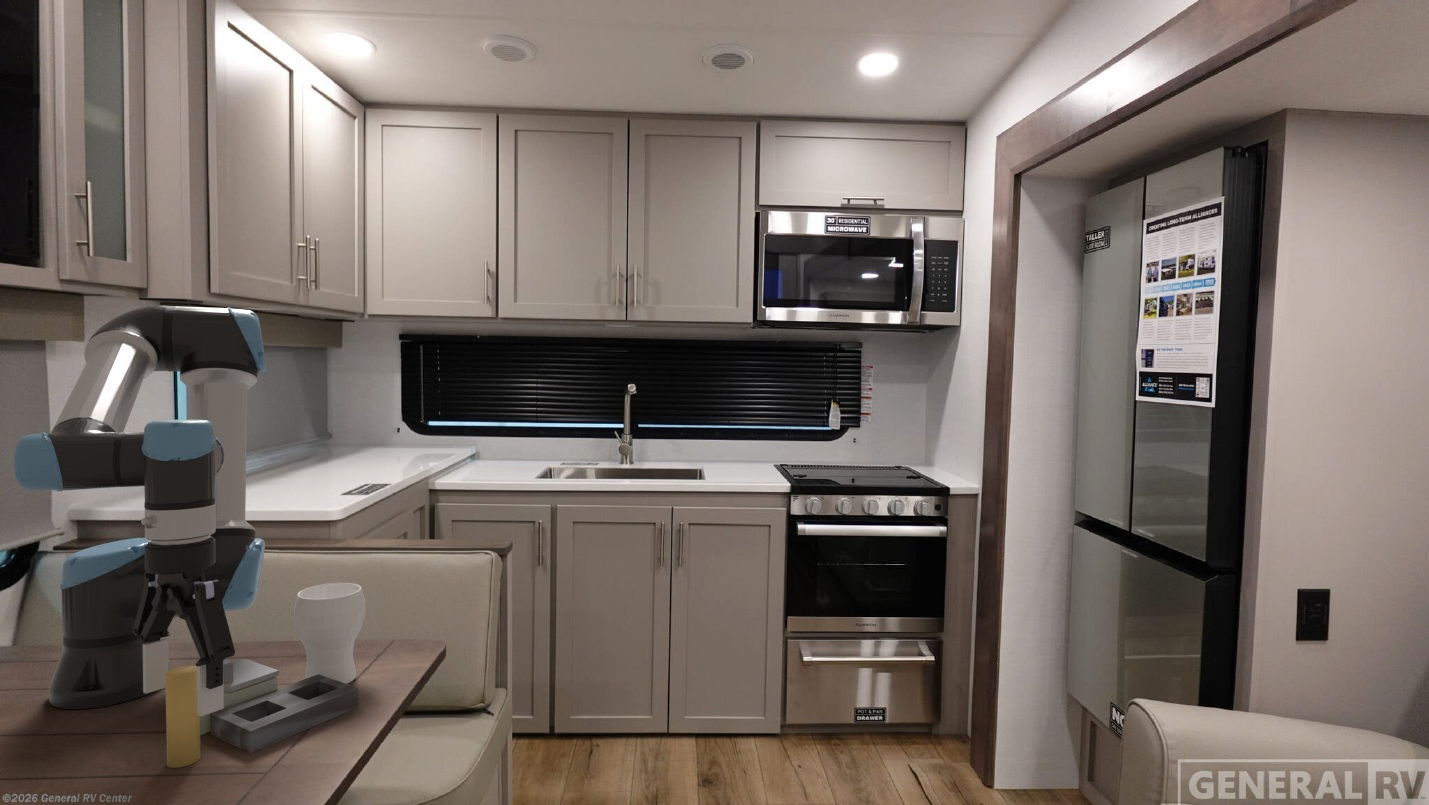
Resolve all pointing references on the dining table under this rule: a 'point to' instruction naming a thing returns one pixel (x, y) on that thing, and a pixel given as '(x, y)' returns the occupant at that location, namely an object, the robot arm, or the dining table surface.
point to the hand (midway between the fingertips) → (182, 700)
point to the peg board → (283, 712)
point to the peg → (182, 717)
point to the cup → (329, 628)
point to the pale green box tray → (240, 698)
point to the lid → (245, 674)
